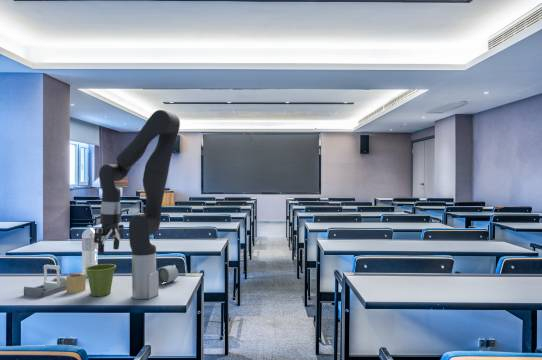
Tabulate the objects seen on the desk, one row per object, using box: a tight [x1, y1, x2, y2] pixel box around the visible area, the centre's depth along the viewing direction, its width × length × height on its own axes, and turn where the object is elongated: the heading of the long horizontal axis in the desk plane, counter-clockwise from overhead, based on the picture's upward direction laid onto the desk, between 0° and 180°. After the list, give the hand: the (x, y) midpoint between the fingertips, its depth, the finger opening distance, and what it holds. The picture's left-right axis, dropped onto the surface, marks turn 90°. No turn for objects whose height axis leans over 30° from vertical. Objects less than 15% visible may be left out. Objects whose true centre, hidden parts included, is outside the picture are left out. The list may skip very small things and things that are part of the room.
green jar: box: [49, 276, 66, 286], centre depth 160 cm, size 5×5×4 cm
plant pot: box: [85, 263, 117, 297], centre depth 153 cm, size 12×12×11 cm
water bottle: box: [81, 224, 99, 278], centre depth 181 cm, size 7×7×25 cm
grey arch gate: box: [43, 264, 61, 290], centre depth 157 cm, size 8×2×10 cm, turn 72°
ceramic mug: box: [156, 265, 179, 285], centre depth 171 cm, size 11×8×8 cm
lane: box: [23, 284, 66, 299], centre depth 156 cm, size 10×16×4 cm, turn 162°
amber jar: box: [65, 271, 86, 294], centre depth 156 cm, size 5×5×8 cm
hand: (108, 251), depth 155 cm, fingers open, 8 cm apart
